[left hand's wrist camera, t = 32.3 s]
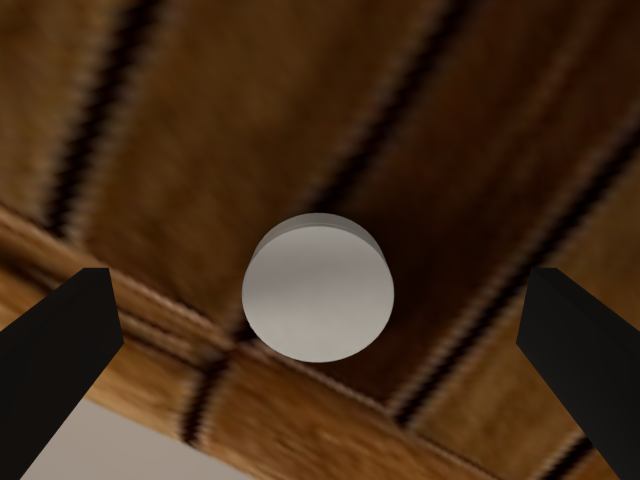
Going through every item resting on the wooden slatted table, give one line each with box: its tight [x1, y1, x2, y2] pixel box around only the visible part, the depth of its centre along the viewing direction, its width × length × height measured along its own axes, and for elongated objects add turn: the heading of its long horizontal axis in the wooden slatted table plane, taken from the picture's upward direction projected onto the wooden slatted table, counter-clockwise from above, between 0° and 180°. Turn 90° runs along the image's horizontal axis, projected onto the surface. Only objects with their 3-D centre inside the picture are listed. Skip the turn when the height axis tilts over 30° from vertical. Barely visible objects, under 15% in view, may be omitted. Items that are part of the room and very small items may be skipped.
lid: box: [242, 213, 394, 362], centre depth 15 cm, size 6×6×2 cm
